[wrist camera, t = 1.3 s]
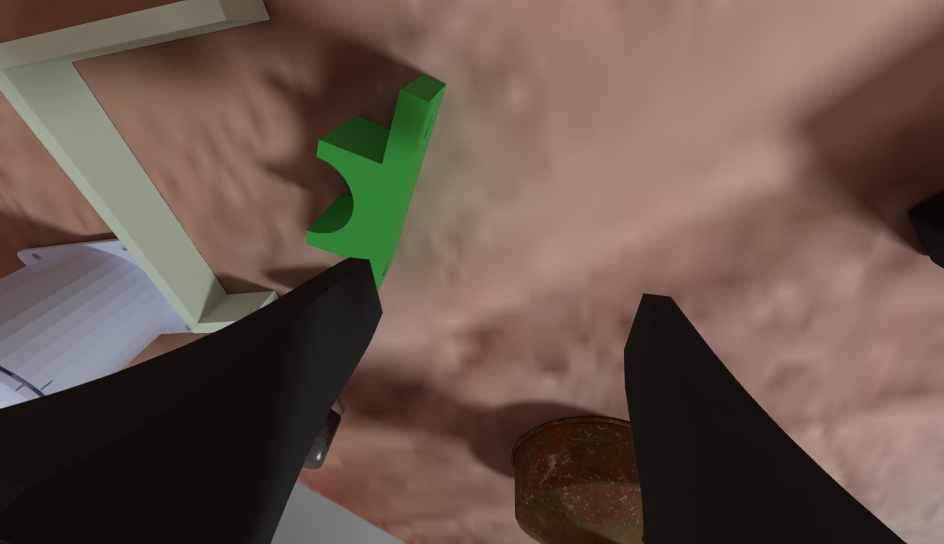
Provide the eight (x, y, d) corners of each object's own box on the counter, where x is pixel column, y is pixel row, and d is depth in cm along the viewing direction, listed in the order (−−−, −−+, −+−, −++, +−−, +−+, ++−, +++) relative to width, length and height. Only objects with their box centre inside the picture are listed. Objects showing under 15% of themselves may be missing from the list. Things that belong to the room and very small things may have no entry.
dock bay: (223, 303, 26) (193, 333, 24) (44, 45, 17) (-32, 50, 15) (375, 292, 24) (360, 323, 22) (261, -3, 16) (214, -7, 13)
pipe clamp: (369, 49, 17) (328, 57, 13) (447, 83, 17) (430, 100, 13) (333, 245, 23) (298, 289, 19) (390, 266, 23) (368, 313, 20)
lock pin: (286, 334, 26) (242, 396, 21) (312, 332, 25) (272, 395, 21) (329, 406, 30) (300, 469, 26) (352, 405, 30) (326, 469, 26)
